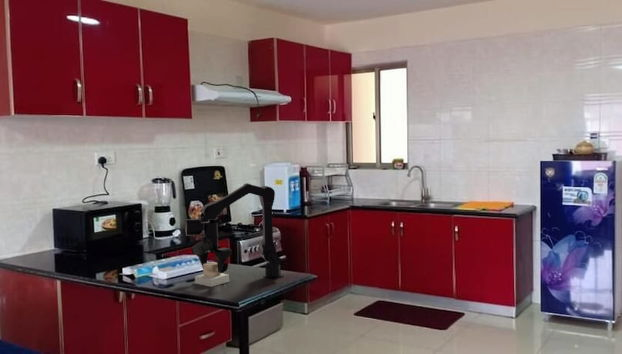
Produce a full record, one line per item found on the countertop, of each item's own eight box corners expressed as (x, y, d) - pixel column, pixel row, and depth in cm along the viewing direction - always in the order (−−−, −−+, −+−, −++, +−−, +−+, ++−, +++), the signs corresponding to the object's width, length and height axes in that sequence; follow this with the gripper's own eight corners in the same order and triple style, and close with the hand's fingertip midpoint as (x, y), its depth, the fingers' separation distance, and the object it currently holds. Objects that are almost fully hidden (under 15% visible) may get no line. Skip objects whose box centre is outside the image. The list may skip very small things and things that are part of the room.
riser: (212, 278, 250) (212, 271, 250) (229, 281, 244) (228, 274, 244) (195, 283, 242) (194, 276, 242) (211, 286, 236) (211, 279, 236)
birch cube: (212, 273, 246) (211, 261, 246) (220, 275, 243) (220, 263, 243) (203, 275, 242) (203, 264, 242) (211, 277, 239) (211, 265, 239)
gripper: (181, 234, 241) (182, 271, 242) (211, 239, 229) (213, 277, 231) (201, 231, 250) (202, 266, 251) (231, 235, 238) (232, 272, 239)
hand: (211, 270), depth 243 cm, fingers open, 9 cm apart
